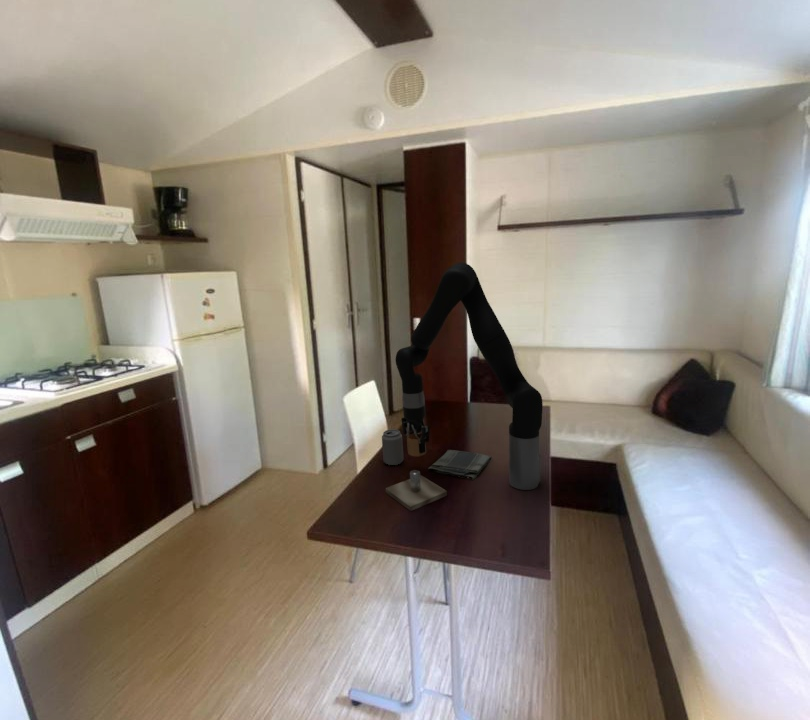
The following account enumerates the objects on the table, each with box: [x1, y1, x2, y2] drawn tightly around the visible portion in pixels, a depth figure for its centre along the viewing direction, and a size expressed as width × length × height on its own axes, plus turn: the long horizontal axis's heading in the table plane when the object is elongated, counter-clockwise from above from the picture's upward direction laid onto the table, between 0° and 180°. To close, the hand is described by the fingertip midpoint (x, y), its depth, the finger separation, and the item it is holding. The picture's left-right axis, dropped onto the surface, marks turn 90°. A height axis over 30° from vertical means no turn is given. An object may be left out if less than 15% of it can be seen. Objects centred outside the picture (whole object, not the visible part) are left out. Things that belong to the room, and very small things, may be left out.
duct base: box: [385, 474, 448, 512], centre depth 136 cm, size 14×14×2 cm
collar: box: [406, 432, 427, 457], centre depth 149 cm, size 6×6×6 cm
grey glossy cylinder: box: [409, 469, 421, 492], centre depth 135 cm, size 3×3×6 cm
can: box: [381, 428, 404, 466], centre depth 158 cm, size 8×8×12 cm
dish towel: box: [427, 449, 493, 481], centre depth 154 cm, size 19×18×3 cm
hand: (416, 449), depth 150 cm, fingers closed on collar, 6 cm apart
